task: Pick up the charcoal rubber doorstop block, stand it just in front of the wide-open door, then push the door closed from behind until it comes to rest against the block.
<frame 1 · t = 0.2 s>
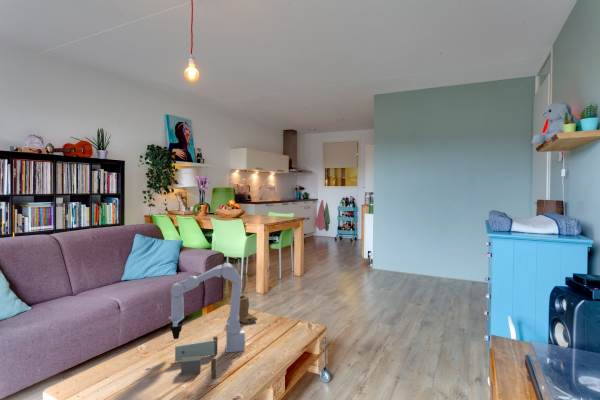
hand: (177, 335, 160), 10 cm above the table, fingers open, 7 cm apart
doorstop block: (191, 371, 146), on the table
brown boot: (243, 320, 204), on the table
door: (196, 350, 157), point 4 cm above the table, hinge at 80.0°
door frame: (214, 364, 152), on the table
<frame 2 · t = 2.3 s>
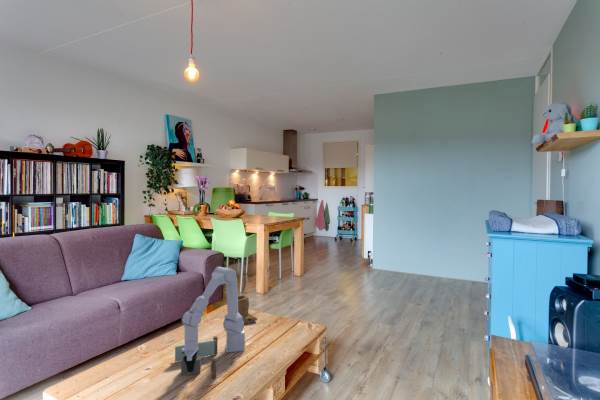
hand: (191, 368, 146), 1 cm above the table, fingers closed on doorstop block, 4 cm apart
doorstop block: (191, 371, 146), on the table, touching gripper
everything else where it was.
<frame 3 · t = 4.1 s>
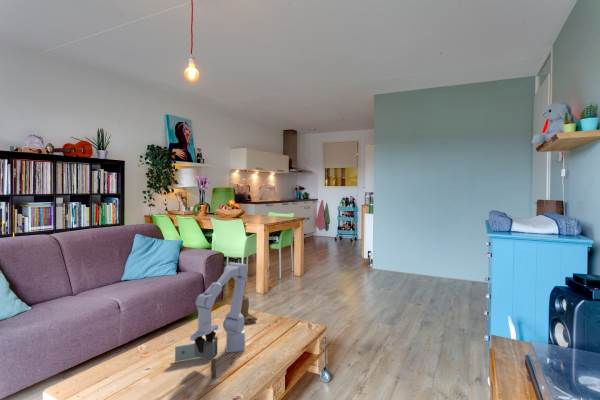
hand: (204, 350, 148), 8 cm above the table, fingers closed on doorstop block, 4 cm apart
doorstop block: (204, 355, 149), point 6 cm above the table, touching gripper
everything else where it was.
when the fingers open (2 cm above the table, at t = 5.9 s): doorstop block stays where it is, on the table.
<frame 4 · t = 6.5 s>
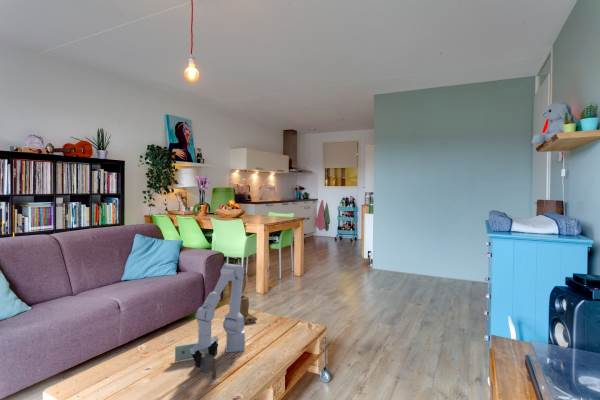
hand: (204, 362, 149), 2 cm above the table, fingers open, 7 cm apart
doorstop block: (204, 368, 149), on the table
everything else where it was.
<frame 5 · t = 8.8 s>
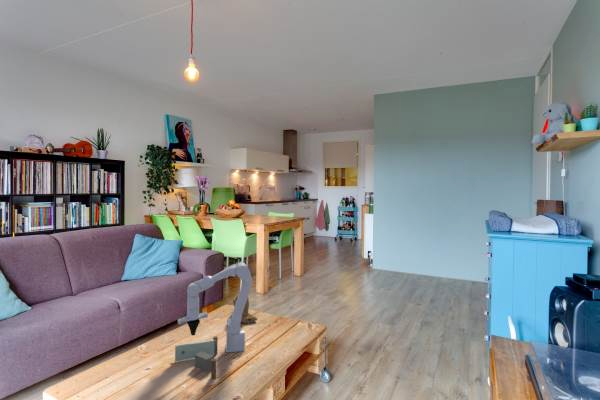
hand: (193, 334, 162), 9 cm above the table, fingers closed
nothing on the table moved.
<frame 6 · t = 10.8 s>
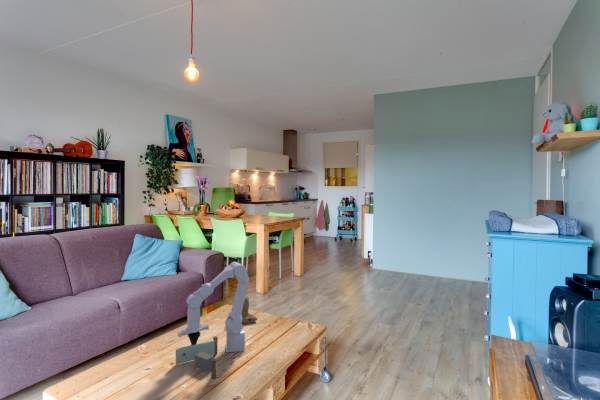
hand: (193, 347, 157), 5 cm above the table, fingers closed, pressing on door
door: (196, 351, 156), point 4 cm above the table, hinge at 71.1°, touching gripper
everything else where it was.
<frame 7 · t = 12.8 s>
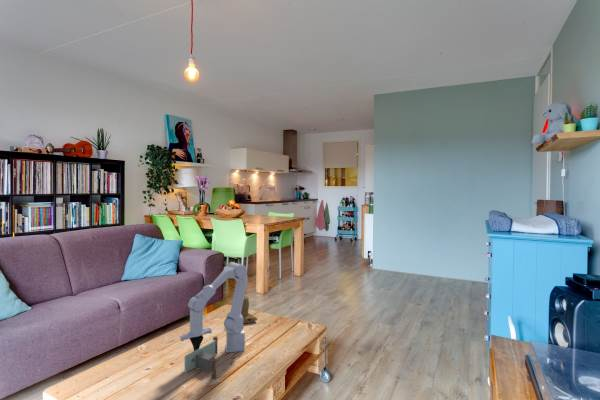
hand: (196, 351, 153), 5 cm above the table, fingers closed
door: (201, 354, 153), point 4 cm above the table, hinge at 42.2°
everything else where it was.
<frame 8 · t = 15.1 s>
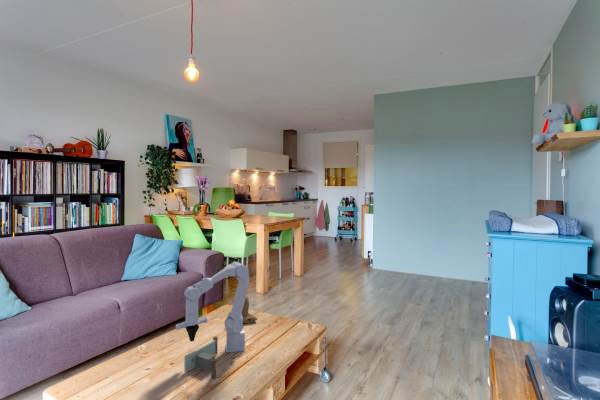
hand: (191, 340, 154), 10 cm above the table, fingers closed
nothing on the table moved.
at the end: door at +42° (first picture: +80°); doorstop block tilted 0°; doorstop block 0.2 cm from the target spot, on the table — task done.
